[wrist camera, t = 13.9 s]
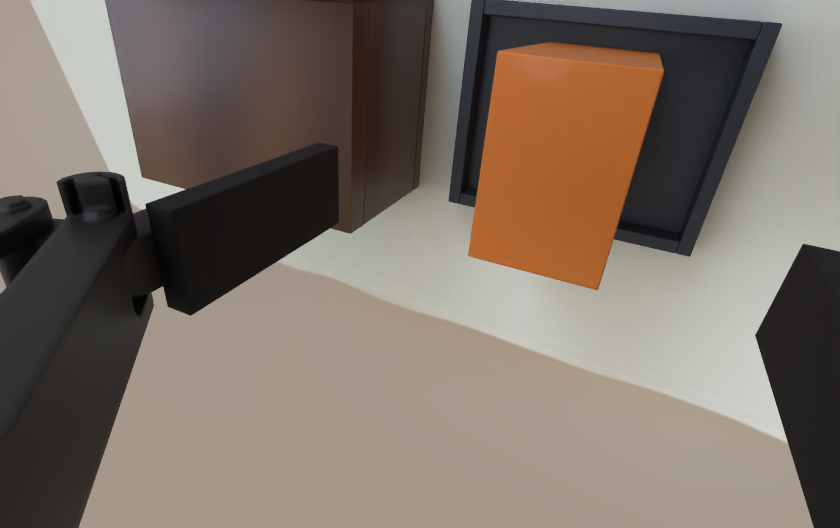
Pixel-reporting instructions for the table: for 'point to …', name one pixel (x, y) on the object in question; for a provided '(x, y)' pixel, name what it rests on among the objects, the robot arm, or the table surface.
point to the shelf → (277, 89)
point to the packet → (561, 156)
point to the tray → (671, 116)
